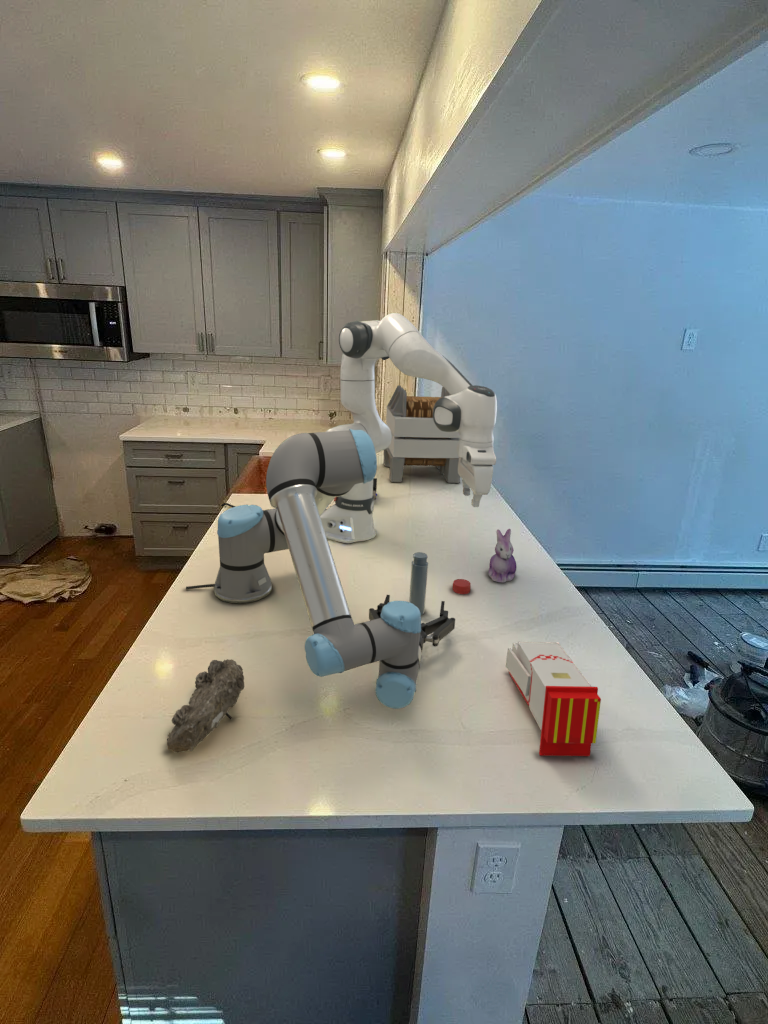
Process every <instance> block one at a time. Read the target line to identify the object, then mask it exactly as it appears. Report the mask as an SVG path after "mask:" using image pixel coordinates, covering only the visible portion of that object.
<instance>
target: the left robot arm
mask: <svg viewBox="0 0 768 1024" xmlns="http://www.w3.org/2000/svg"><path fill="white" fill-rule="evenodd" d="M377 468H378V460H377V453H376V452H375V448H374V444H373V442H372V440H371V438H370V436H369V435H368V434H367V433H366V432H365V431H363V430H352V429H349V430H347V431H332V432H326V431H318V432H300V433H296V434H293V435H291V436H289V437H287V438H286V439H285V440H283V441H282V442H281V443H280V444H279V445H278V446H277V447H276V448H275V450H274V452H273V453H272V455H271V457H270V460H269V462H268V466H267V470H266V476H265V477H266V478H265V484H266V485H265V486H266V494H267V497H268V500H269V505H270V506H271V507H272V508H270V509H269V508H268V509H263V508H262V507H261V506H260V505H257V504H250V505H249V504H241V505H235V506H236V507H229V508H228V509H226V510H224V511H223V512H222V513H220V515H219V516H218V519H217V531H216V533H217V538H218V540H217V541H218V556H219V569H218V572H217V575H216V578H215V583H208V584H199V585H198V584H197V585H189V586H186V587H185V590H196V589H203V588H205V589H206V588H214V589H213V591H214V596H215V597H216V598H217V599H219V600H221V601H223V602H225V603H231V604H248V603H249V604H250V603H254V602H257V601H260V600H263V599H264V598H266V597H268V596H269V594H271V592H272V590H273V587H272V586H273V584H272V579H271V577H270V574H269V572H268V570H267V569H268V568H267V567H266V564H265V554H269V553H270V554H271V553H274V552H281V551H286V550H288V551H289V554H290V558H291V561H292V565H293V567H294V571H295V575H296V578H297V582H298V585H299V588H300V591H301V595H302V598H303V602H304V606H305V608H306V613H307V616H308V620H309V622H310V626H311V629H312V633H313V634H312V635H309V636H308V637H307V638H306V639H305V642H304V652H305V659H306V663H307V666H308V667H309V669H310V671H311V673H312V674H313V675H315V676H316V677H320V678H322V677H326V676H327V677H328V676H331V675H335V674H343V673H344V672H346V671H349V670H352V669H356V668H359V667H364V666H365V665H366V666H367V665H371V664H374V663H377V662H378V663H379V665H378V666H379V667H378V676H377V678H376V681H375V688H374V689H375V690H374V691H375V696H376V698H377V700H378V701H379V702H380V703H381V704H382V705H383V706H385V707H387V708H390V709H397V710H398V709H399V710H400V709H404V708H405V707H407V706H408V705H410V704H411V703H412V702H413V700H414V697H415V693H416V691H417V681H418V676H419V670H420V664H421V659H422V654H423V649H424V648H423V647H424V644H425V643H432V644H431V645H432V647H438V646H439V642H440V641H442V640H443V639H444V638H445V637H447V636H448V635H449V634H450V633H451V632H452V631H453V630H455V628H456V626H455V625H456V618H455V617H450V618H449V610H445V604H446V603H445V600H441V602H440V609H439V617H437V618H434V619H432V620H430V621H428V622H426V623H425V622H422V615H421V613H420V610H419V609H418V608H417V607H416V606H415V605H414V604H412V603H410V602H409V601H406V600H392V601H390V598H391V595H390V594H386V596H385V598H384V602H380V603H379V604H378V605H377V606H376V609H374V608H373V607H371V608H369V609H368V619H369V620H366V621H363V622H359V623H354V620H353V617H352V614H351V610H350V608H349V605H348V601H347V598H346V594H345V591H344V589H343V586H342V583H341V580H340V576H339V572H338V568H337V566H336V563H335V559H334V556H333V553H332V550H331V546H330V543H329V541H328V540H329V539H327V537H326V534H325V531H324V528H323V525H322V521H321V518H320V515H321V514H322V513H323V512H324V510H325V509H328V508H329V507H330V504H331V503H332V502H334V498H335V497H339V496H342V495H345V494H346V493H348V492H349V491H350V490H351V488H352V487H353V486H354V485H355V484H358V483H363V484H365V483H366V482H370V481H372V480H373V479H374V478H376V474H377V470H378V469H377Z"/></svg>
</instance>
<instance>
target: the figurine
mask: <svg viewBox="0 0 768 1024" xmlns="http://www.w3.org/2000/svg"><path fill="white" fill-rule="evenodd" d="M495 532H496V544H495V547H494V553H495V554H493V555H492V556H491V557H490V559H489V564H488V565H489V566H488V567H489V568H488V577H490V578H491V580H492V581H493V582H496V583H497V582H498V583H506V582H510V581H512V580H513V579H514V578H515V575H516V571H517V568H518V567H517V561H516V559H515V557H514V555H513V553H514V549H515V548H514V547H513V544H512V542H511V536H512V535H511V534H512V529H511V528H508V529H506V531H505V533H504V535H503V533H502V532H501V530H500V529H496V531H495Z"/></svg>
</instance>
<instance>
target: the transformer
mask: <svg viewBox="0 0 768 1024" xmlns="http://www.w3.org/2000/svg"><path fill="white" fill-rule="evenodd" d="M440 393H441V394H440V396H415V395H414V396H413V395H412V396H411V395H407V394H408V393H407V390H406V389H404V388H403V387H402V385H399V384H398V385H397V386H396V388H395V390H394V392H393V394H392V395H391V398H390V400H389V402H388V404H387V405H386V413H385V414H386V415H385V424H387V426H388V427H389V428H390V431H391V434H392V440H391V444H390V446H389V447H388V448H387V449H385V450H383V466H384V467H388V468H389V475H388V476H389V477H388V478H389V480H390V482H391V483H402V482H403V475H404V469H405V466H406V467H407V466H411V467H412V466H413V467H415V466H416V467H417V466H418V467H436V468H437V470H438V469H439V473H440V474H441V475H443V478H444V479H445V481H446V482H447V483H449V484H455V483H456V484H459V483H461V477H460V475H459V474H458V462H459V456H458V449H459V438H460V434H459V432H444V431H441V430H439V429H438V428H437V426H436V425H435V423H434V420H433V408H434V405H435V403H436V402H437V400H438V399H440V398H442V397H445V396H450V393H449V392H448V391H447V390H446V389H445V388H444V387H443V386H442V387H441V392H440Z"/></svg>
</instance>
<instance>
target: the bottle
mask: <svg viewBox="0 0 768 1024" xmlns="http://www.w3.org/2000/svg"><path fill="white" fill-rule="evenodd" d="M428 569H429V562H428V554H427V553H425V552H422V551H418V552H414V553H413V554H412V561H411V567H410V579H409V580H410V581H409V597H408V602H410V603H412V604H414V605H415V606H416V607H417V608H418V609H419V610H420V613H421V616H423V615H424V614H425V611H426V609H425V608H426V596H427V584H428V571H429V570H428Z"/></svg>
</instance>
